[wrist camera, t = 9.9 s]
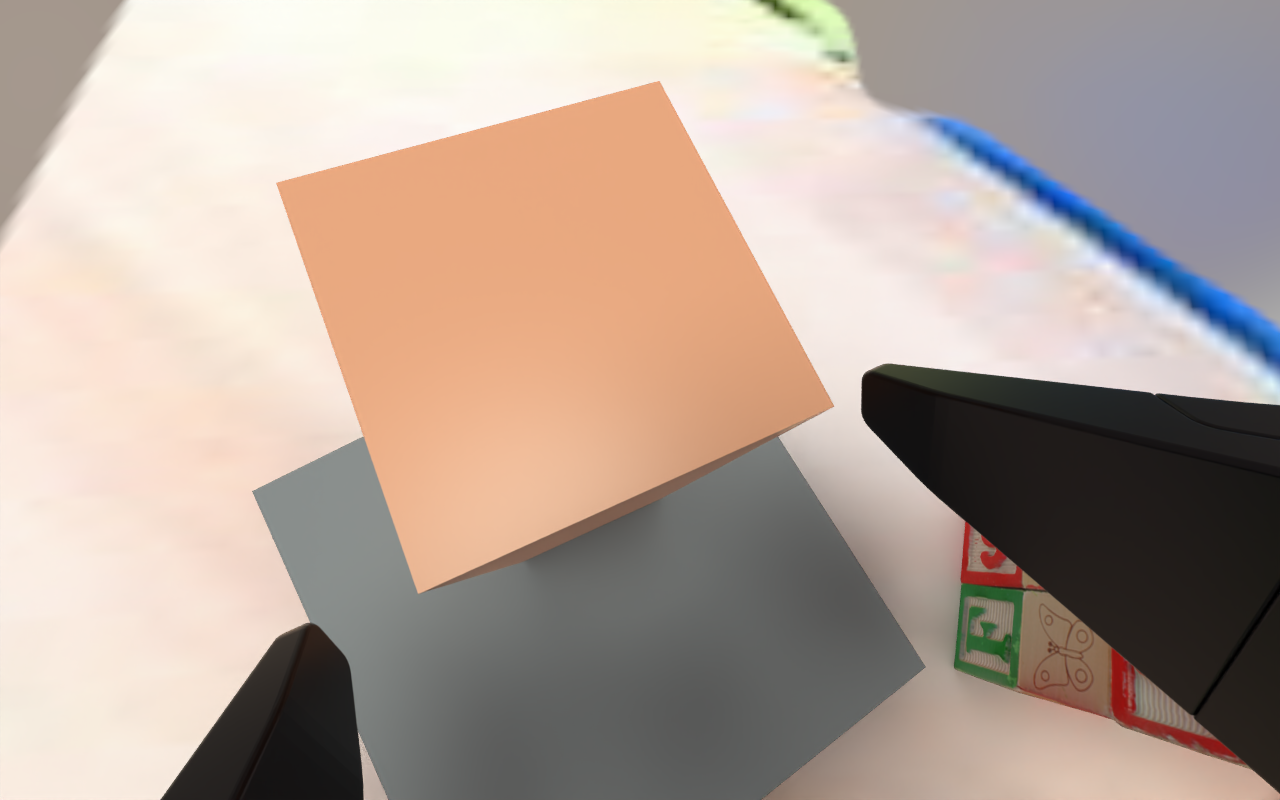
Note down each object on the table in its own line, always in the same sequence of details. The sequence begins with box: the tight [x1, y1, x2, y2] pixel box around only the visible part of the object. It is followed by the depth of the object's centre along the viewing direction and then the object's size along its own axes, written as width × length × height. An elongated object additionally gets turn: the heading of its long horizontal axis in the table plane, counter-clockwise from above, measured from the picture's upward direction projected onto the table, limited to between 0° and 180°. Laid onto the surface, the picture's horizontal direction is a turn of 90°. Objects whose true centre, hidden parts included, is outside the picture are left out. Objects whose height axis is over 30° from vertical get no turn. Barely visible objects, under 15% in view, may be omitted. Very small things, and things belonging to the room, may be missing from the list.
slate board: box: [252, 437, 925, 800], centre depth 18 cm, size 16×16×1 cm
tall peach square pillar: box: [277, 81, 834, 594], centre depth 12 cm, size 5×5×12 cm
